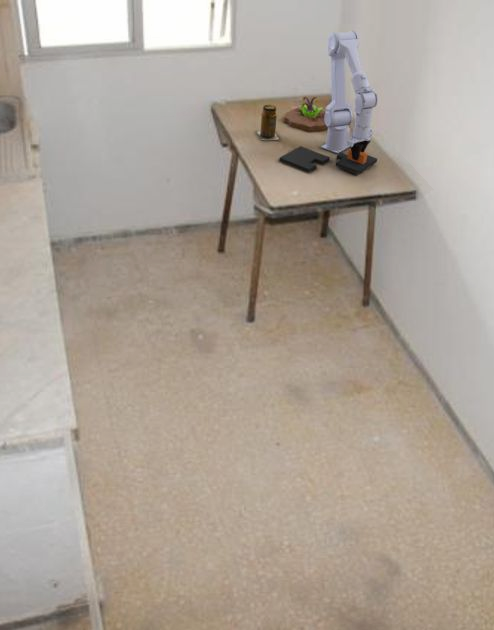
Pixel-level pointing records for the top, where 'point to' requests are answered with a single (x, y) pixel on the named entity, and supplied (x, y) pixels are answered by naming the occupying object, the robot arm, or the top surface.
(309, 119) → the plant
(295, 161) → the black pad
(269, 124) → the condiment
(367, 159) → the charcoal pad
